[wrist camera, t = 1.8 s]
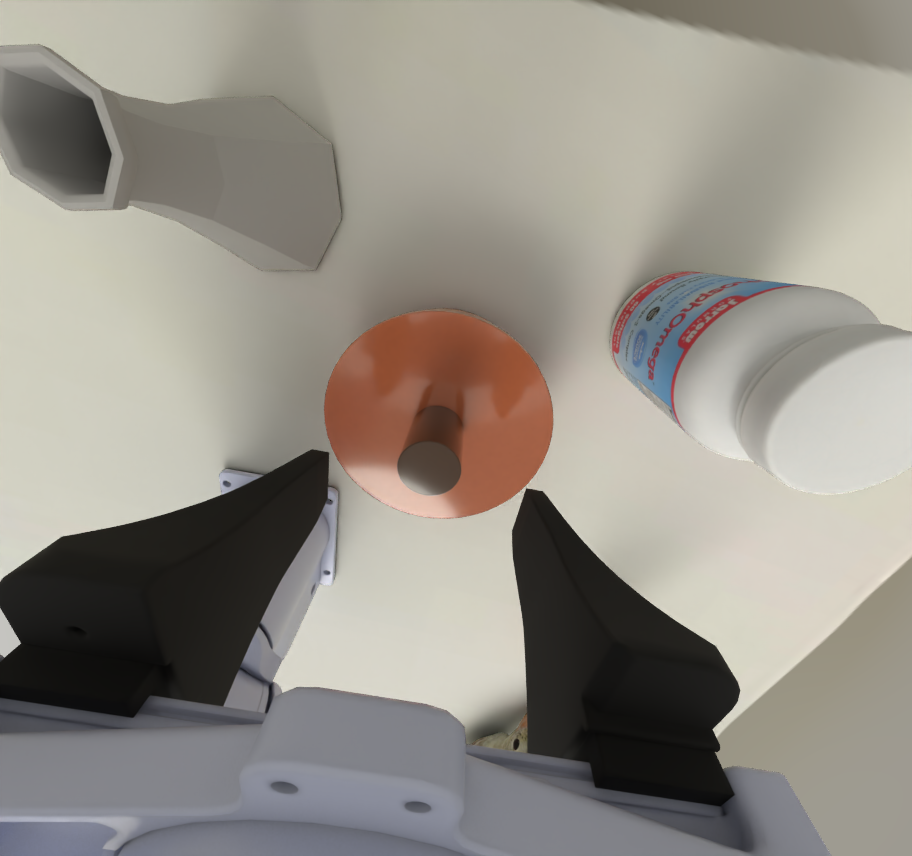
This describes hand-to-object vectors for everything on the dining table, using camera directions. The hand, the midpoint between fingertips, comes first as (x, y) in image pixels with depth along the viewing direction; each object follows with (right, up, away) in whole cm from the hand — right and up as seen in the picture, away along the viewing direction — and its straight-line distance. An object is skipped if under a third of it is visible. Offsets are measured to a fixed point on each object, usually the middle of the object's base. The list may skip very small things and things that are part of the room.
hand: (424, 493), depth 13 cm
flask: (-8, +14, +4) cm, 16 cm away
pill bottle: (+12, +8, +6) cm, 16 cm away
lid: (0, +2, +5) cm, 6 cm away
